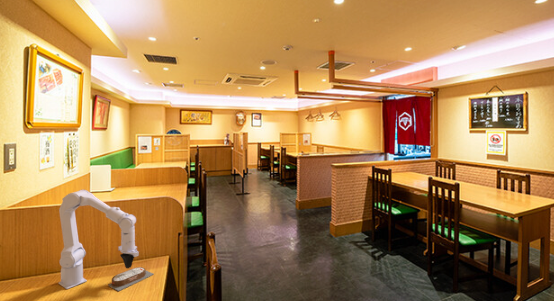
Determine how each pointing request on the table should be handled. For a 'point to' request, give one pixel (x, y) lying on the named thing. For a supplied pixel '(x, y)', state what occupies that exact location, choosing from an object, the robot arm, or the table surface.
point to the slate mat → (131, 282)
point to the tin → (128, 276)
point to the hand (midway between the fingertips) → (128, 267)
